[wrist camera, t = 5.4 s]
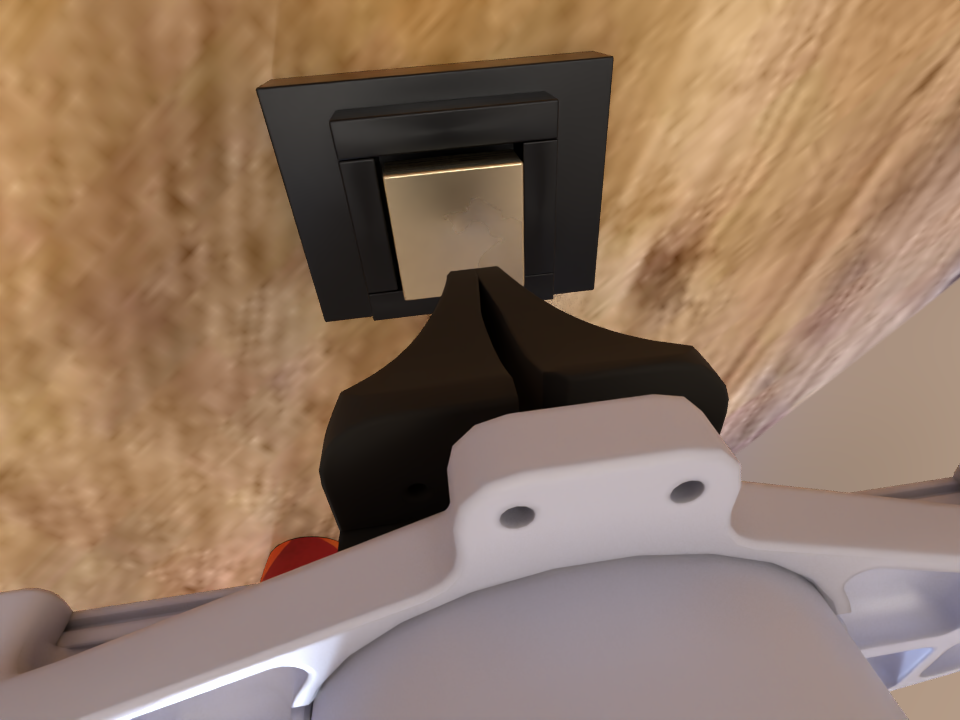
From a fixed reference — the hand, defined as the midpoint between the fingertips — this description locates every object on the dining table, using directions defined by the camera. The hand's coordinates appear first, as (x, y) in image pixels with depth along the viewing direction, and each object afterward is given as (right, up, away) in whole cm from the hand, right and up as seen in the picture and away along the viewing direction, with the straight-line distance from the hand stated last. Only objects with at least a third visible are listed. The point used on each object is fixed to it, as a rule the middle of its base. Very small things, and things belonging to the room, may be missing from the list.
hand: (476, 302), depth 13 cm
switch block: (-1, +6, +8) cm, 10 cm away
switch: (-1, +4, +5) cm, 6 cm away
